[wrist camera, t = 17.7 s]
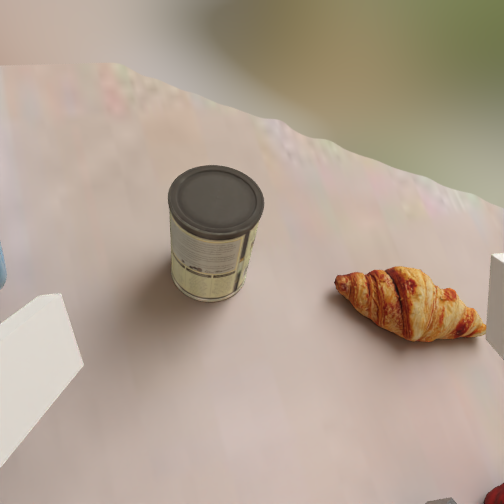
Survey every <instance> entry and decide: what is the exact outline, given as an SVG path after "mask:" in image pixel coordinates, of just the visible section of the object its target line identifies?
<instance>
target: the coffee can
mask: <svg viewBox="0 0 504 504" xmlns="http://www.w3.org/2000/svg"><path fill="white" fill-rule="evenodd" d="M168 204H169V208H170V234H171V264H172V265H171V274H172V278H173V281H174V283H175V284H176V286H177V287H178V288H179V290H181V291H182V292H183V293H184V294H185V295H187V296H188V297H190V298H193V299H195V300H198V301H203V302H217V301H221V300H225V299H227V298H229V297H231V296H233V295H234V294H236V293H237V292H238V291H239V290H240V288H242V286H243V284H244V282H245V279H246V272H247V268H248V264H249V260H250V256H251V252H252V248H253V244H254V240H255V236H256V231H257V227H258V223H259V220H260V218H261V215H262V212H263V209H264V198H263V194H262V192H261V190H260V188H259V187H258V185H257V184H256V183H255V182H254V181H253V180H252V179H251V178H250V177H248V176H247V175H245V174H244V173H242V172H240V171H238V170H235V169H232V168H229V167H225V166H217V165H207V166H200V167H196V168H192V169H190V170H188V171H186V172H184V173H182V174H181V175H179V176H178V177H177V178H176V179H175V180H174V182H173V183H172V185H171V187H170V189H169V193H168Z"/></svg>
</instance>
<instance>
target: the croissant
mask: <svg viewBox="0 0 504 504" xmlns="http://www.w3.org/2000/svg"><path fill="white" fill-rule="evenodd" d="M334 283H335V285H336V289H337V290H338V292H339V293H340V294H342V295H343V296H345V298H347V299H348V300H350V302H351V304H352V305H353V306H354V308H355V309H356V310H357V311H358V312H359V313H361V314H362V315H364V316H366V317H368V318H369V319H371V320H372V321H373V322H374V323H376V324H377V325H378V326H379V327H382V328H384V329H386V330H388V331H390V332H394V333H395V334H397V335H398V336H400V337H402V338H405V339H406V340H409V341H413V342H414V341H419V342H421V341H422V342H432V341H434V340H435V339H437V338H439V339H455V338H458V337H466V338H470V337H477V336H482V335H484V334H486V325H485V324H483V322H482V320H481V318H480V317H479V315H478V314H477V312H476V311H475V310H474V309H473V308H468V307H466V306H465V304H464V303H463V302H462V301H461V300H460V299H459V296H458V295H457V294H456V291H455V290H453V289H451V288H446V289H439V287H438V286H435V285H434V284H433V282H432V280H431V279H430V277H429V276H427V275H426V274H425V273H423V272H422V271H421V270H418V269H414V268H407V267H402V266H398V267H393V268H390V269H387V270H385V271H383V270H373V271H371V272H369V273H368V274H366V275H364V274H362V273H358V272H354V273H350V274H347V275H338V276H337V277H336V279H335V282H334Z"/></svg>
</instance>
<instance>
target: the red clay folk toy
mask: <svg viewBox="0 0 504 504" xmlns="http://www.w3.org/2000/svg"><path fill="white" fill-rule="evenodd" d="M484 504H504V483H503V484H501V485H500V486H497V487H495V488H494V489H493V490H492V491H491V492H488V494H487V495H486V498H485V500H484Z"/></svg>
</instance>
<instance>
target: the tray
mask: <svg viewBox="0 0 504 504" xmlns="http://www.w3.org/2000/svg"><path fill="white" fill-rule="evenodd" d="M426 504H457V503H456V502H455V501H454V500H453V499H452V497H451V498H445V499H439V500H434V501H428V502H427V503H426Z"/></svg>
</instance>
